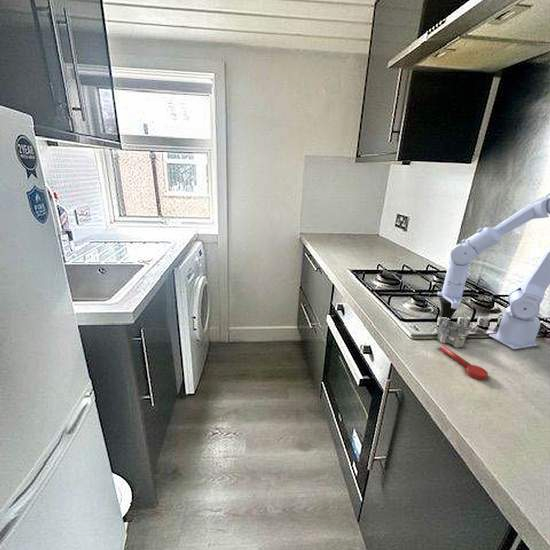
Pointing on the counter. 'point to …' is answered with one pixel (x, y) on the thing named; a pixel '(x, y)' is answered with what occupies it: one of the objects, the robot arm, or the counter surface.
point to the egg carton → (452, 333)
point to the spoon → (467, 365)
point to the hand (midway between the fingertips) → (444, 320)
